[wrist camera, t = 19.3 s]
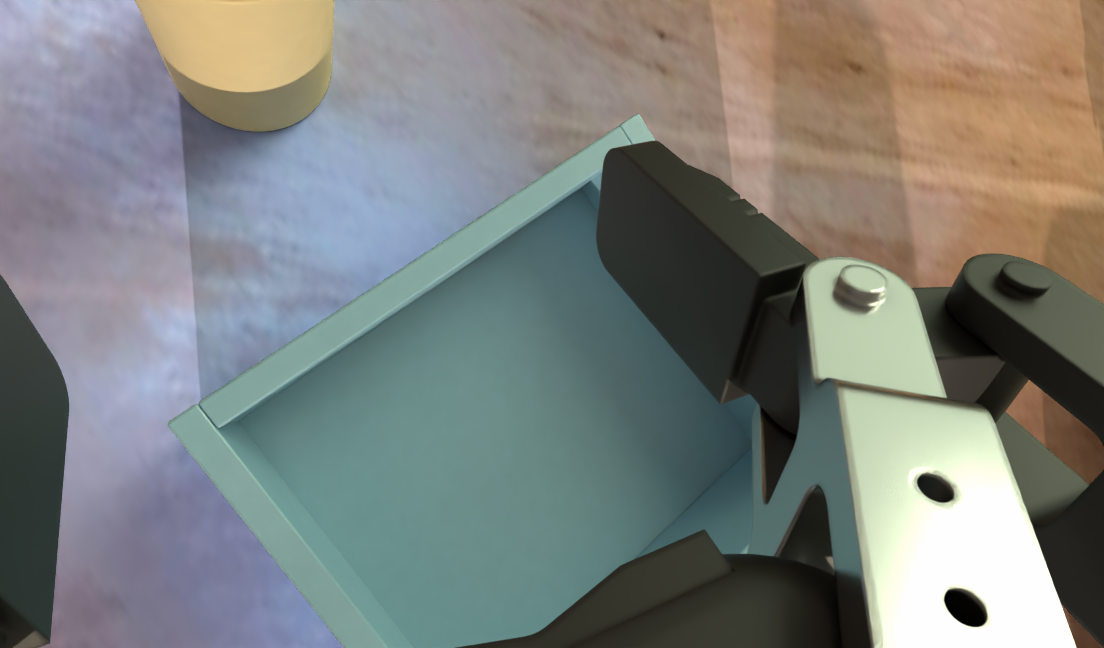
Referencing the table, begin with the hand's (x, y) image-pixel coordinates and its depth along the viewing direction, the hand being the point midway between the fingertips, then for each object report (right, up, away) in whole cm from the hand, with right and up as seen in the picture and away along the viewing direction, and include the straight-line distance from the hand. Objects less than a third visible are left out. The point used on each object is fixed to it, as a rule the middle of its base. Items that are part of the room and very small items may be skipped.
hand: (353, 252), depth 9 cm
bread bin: (+2, -5, +14) cm, 15 cm away
